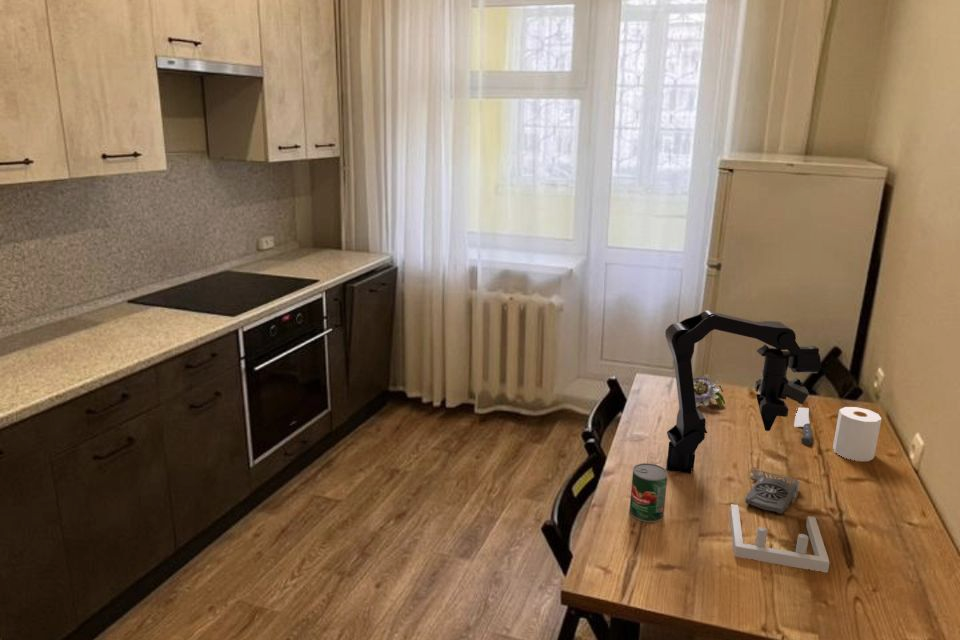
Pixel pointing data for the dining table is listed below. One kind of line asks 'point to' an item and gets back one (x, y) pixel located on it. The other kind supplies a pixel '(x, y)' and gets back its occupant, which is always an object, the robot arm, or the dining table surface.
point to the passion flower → (707, 391)
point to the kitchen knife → (804, 425)
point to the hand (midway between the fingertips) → (766, 427)
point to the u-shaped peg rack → (781, 556)
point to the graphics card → (772, 492)
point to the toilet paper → (856, 433)
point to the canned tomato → (648, 492)
